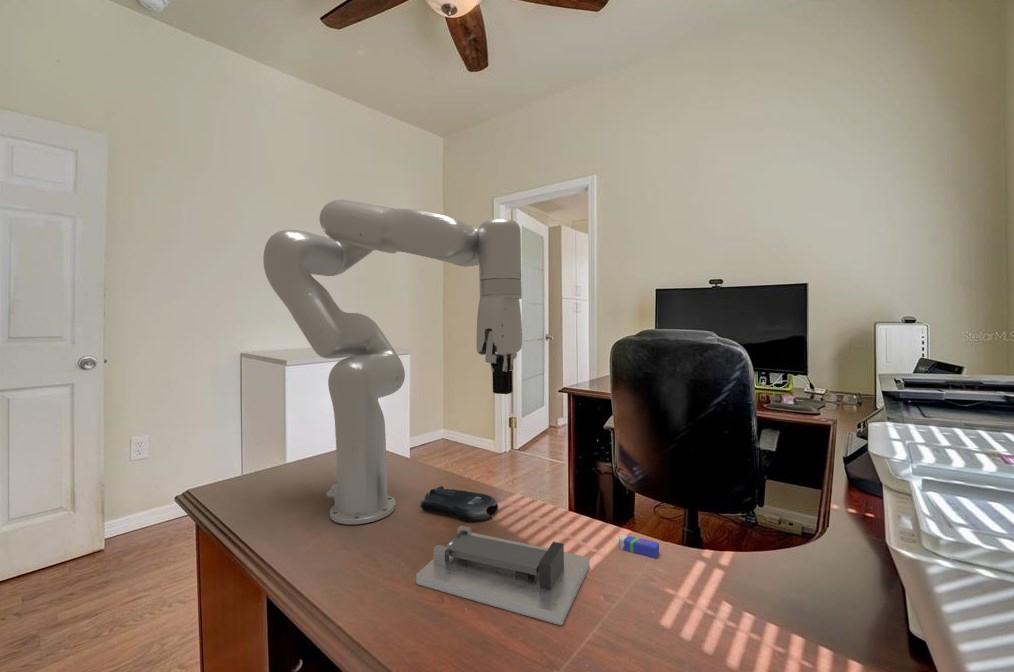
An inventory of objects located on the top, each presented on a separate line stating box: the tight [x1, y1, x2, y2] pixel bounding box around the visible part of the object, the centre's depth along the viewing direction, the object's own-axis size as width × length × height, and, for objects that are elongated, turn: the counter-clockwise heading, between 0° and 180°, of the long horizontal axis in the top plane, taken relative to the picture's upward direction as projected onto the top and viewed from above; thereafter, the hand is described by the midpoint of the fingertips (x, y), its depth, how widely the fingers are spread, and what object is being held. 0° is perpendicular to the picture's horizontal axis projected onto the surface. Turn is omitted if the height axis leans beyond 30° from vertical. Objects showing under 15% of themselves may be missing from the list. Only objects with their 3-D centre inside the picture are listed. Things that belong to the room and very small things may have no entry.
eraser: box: [618, 534, 660, 559], centre depth 71 cm, size 2×6×2 cm, turn 58°
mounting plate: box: [415, 525, 591, 626], centre depth 65 cm, size 22×14×5 cm, turn 65°
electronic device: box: [419, 485, 499, 522], centre depth 88 cm, size 9×6×15 cm
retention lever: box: [443, 533, 547, 576], centre depth 66 cm, size 16×5×1 cm, turn 65°
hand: (502, 392), depth 78 cm, fingers closed
